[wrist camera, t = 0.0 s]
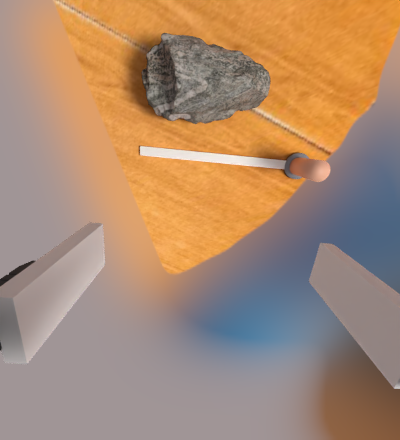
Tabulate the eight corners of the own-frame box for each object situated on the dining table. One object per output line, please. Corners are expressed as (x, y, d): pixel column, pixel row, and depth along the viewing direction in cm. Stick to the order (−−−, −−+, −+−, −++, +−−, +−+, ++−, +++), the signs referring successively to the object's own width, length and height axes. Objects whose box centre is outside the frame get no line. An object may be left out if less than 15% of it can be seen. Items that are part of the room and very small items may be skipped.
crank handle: (140, 137, 37) (125, 135, 30) (311, 154, 38) (339, 156, 31) (140, 163, 39) (126, 168, 31) (305, 179, 40) (330, 187, 32)
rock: (156, 140, 35) (131, 81, 26) (152, 97, 39) (129, 32, 30) (269, 118, 35) (285, 50, 25) (255, 76, 38) (264, 3, 29)
